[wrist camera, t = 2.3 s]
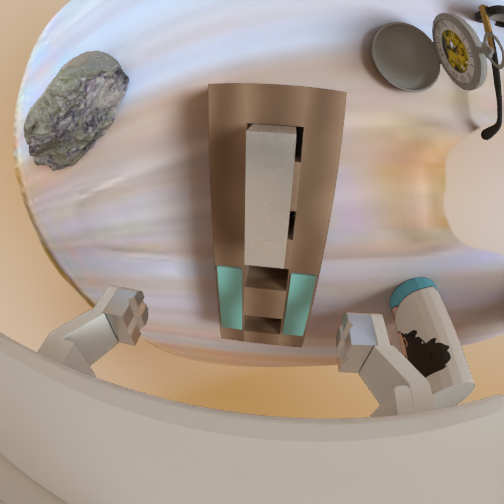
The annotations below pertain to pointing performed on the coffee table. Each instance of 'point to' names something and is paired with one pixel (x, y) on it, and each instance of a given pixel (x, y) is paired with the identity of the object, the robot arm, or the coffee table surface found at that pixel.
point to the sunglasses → (500, 15)
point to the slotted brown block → (302, 203)
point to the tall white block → (268, 193)
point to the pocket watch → (432, 54)
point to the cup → (431, 341)
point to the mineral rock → (75, 109)
